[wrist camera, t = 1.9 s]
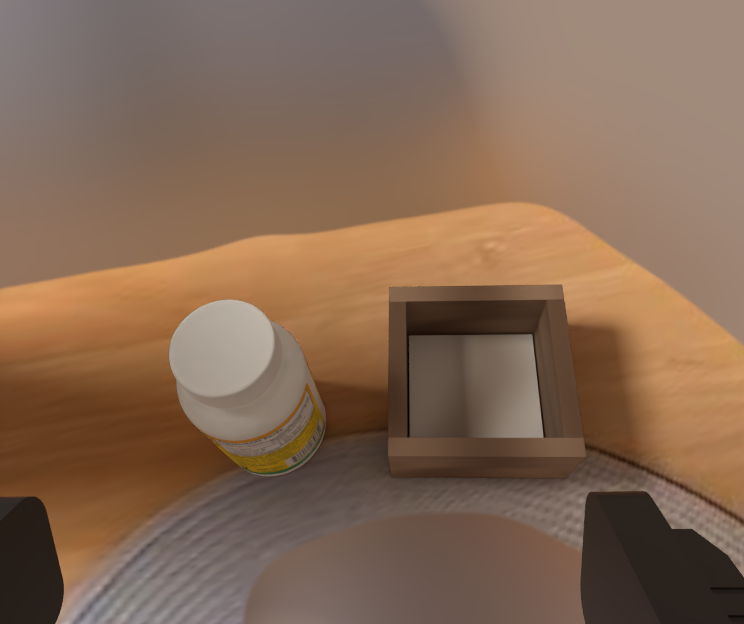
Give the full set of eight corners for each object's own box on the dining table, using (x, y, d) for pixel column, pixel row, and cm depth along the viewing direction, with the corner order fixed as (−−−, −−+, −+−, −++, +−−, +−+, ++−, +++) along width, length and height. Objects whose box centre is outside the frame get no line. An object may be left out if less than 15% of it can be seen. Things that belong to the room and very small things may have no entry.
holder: (391, 477, 29) (387, 456, 26) (392, 323, 33) (389, 287, 30) (565, 478, 29) (586, 456, 25) (546, 322, 33) (562, 284, 29)
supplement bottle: (329, 474, 30) (293, 411, 21) (219, 482, 30) (141, 424, 21) (326, 371, 32) (293, 277, 24) (225, 379, 32) (156, 289, 24)
